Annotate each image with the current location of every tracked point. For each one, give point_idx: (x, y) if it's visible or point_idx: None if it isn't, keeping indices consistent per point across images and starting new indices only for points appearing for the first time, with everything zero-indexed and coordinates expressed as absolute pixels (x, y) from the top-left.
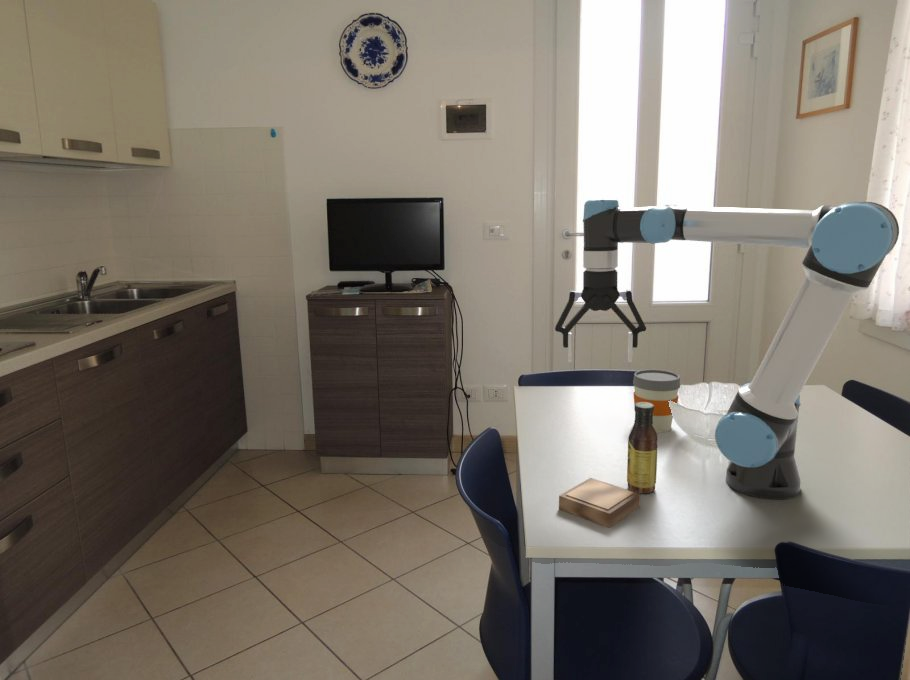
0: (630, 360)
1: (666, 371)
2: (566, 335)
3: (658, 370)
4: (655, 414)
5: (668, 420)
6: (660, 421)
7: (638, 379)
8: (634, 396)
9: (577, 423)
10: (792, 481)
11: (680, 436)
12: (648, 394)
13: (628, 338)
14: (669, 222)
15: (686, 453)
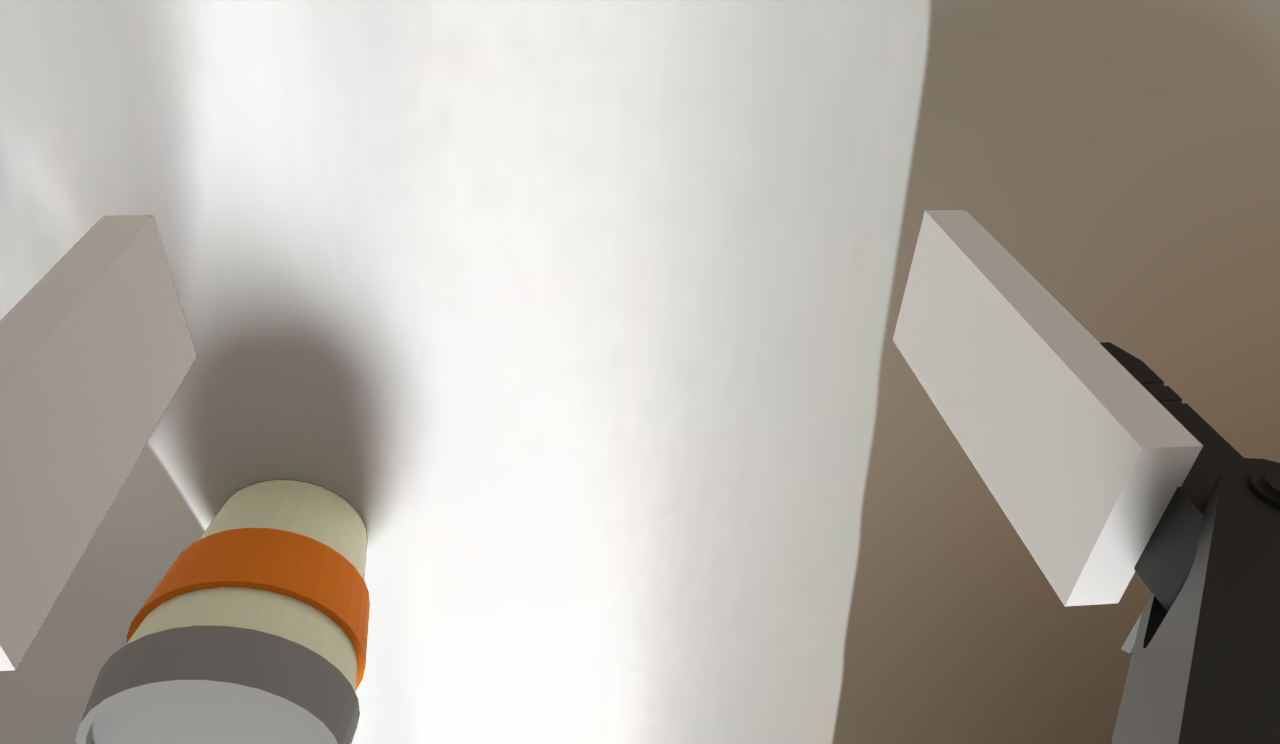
0: (116, 227)
1: None
2: (1195, 468)
3: None
4: (257, 531)
5: (207, 530)
6: (244, 515)
7: (315, 703)
8: (358, 633)
9: (630, 523)
10: None
11: (161, 450)
12: (270, 615)
13: (49, 549)
14: None
15: None
